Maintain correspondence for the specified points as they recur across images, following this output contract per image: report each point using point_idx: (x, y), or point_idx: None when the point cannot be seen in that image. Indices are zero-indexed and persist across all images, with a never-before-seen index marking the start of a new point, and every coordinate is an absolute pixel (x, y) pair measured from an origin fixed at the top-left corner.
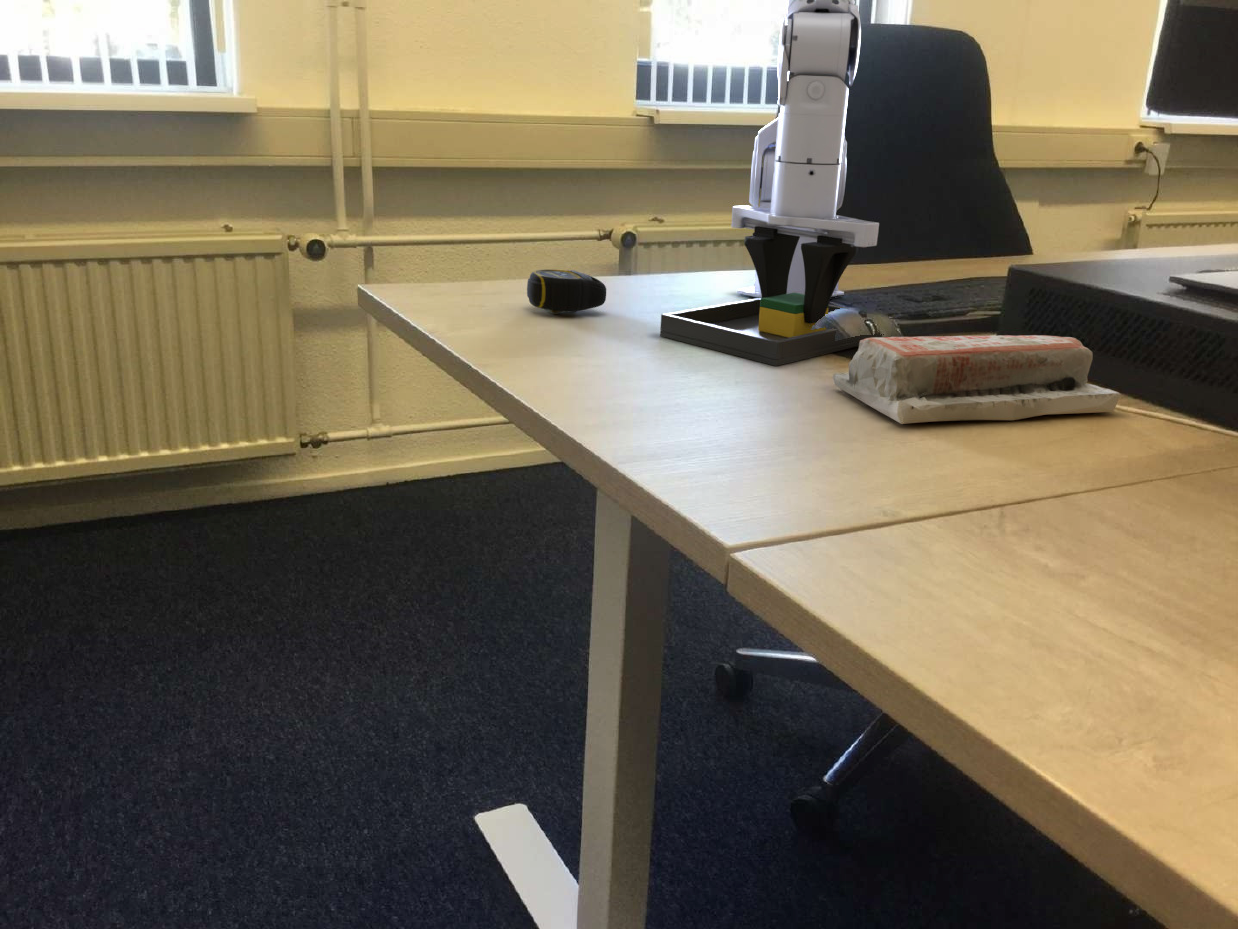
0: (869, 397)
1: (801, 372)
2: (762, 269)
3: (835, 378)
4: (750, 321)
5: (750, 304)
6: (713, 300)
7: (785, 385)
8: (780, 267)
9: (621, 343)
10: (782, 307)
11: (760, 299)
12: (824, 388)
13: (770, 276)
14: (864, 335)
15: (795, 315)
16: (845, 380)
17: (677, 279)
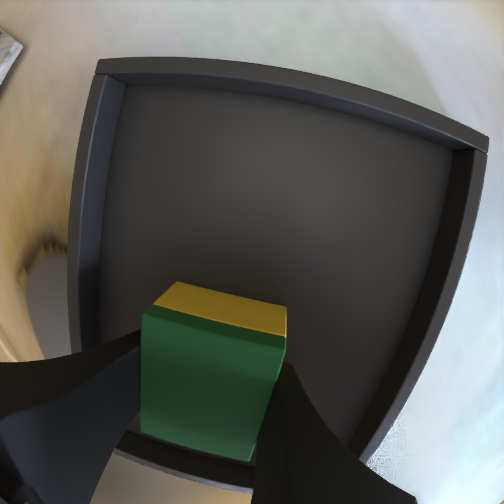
0: None
1: (79, 81)
2: (302, 437)
3: (15, 40)
4: (345, 381)
5: (369, 434)
6: (452, 470)
7: (80, 6)
8: (261, 486)
9: (466, 42)
10: (194, 319)
11: None
12: (37, 43)
13: (276, 435)
14: None
15: (154, 303)
16: (4, 34)
17: (496, 495)
